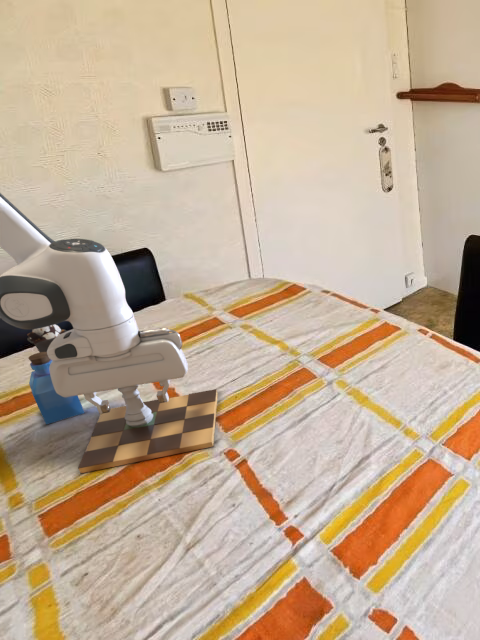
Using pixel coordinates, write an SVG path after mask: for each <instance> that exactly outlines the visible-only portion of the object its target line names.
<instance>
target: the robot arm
mask: <svg viewBox="0 0 480 640" xmlns="http://www.w3.org/2000/svg"><path fill="white" fill-rule="evenodd" d="M0 248H1V249H2V250H3V251H4V252H6V254H8V255H9V256H10V257H11V258H12V259H13V260H14V261H15V263H16V264H17V265H13V267H11V268H9V269H7V270H5V271H4V272H3V273H1V274H0V320H2V321H4V322H5V323H7V324H8V325H10V326H12V327H14V328H17V329H21V330H32V329H38V328H43V327H47V326H51V325H54V324H55V325H58V324H60V323H63V322H68V323H70V324H71V327H72V329H69V330H66V332H65V333H62V334H60V335H58V336H57V337H56V338H55V339H54V340H53V341H52V342H51V344H50V345H49V347H48V350H47V355H48V357H49V358H50V359H51V360H53V361H52V362H51V364H50V367H49V370H50V376H51V380H52V383H53V386H54V389H55V391H56V393H57V394H59V395H60V396H62V397H71V396H77V395H78V396H84V399H85V401H87V402H88V403H90V404H92V405H93V406H94V407H96V409H97V411H98V414H99V415H100V414H103V413H108V412H110V410H111V405H110V402H109V400H108V399H105V400H102V399H101V398H100V397H99V396H97V393H99V392H106V391H111V390H118V388H124V387H130V386H136V385H138V386H142V385H147V384H154V383H159V386H160V387H162V390H158V391H156V396H155V397H156V400H158V402H159V403H164V402H168V401H169V398H170V396H169V394H168V389H169V387H170V383H171V380H177V379H183V378H185V376H186V375H187V374H188V371H189V363H188V360H187V357H186V355H185V353H184V351H183V349H182V348H183V340H182V337H181V335H180V333H179V332H178V331H176V330H174V329H169V327H160V328H156V329H147V330H140V329H139V326H138V323H137V320H136V317H135V315H134V312H133V310H132V308H131V307H130V305H129V304H128V302H127V299H126V288H125V285H124V282H123V280H122V276H121V275H120V271H119V269H118V267H117V265H116V263H115V261H114V259H113V257H112V255H111V253H110V252H109V250H108V249H107V248H106V247H105V246H104V245H103V244H102V243H100V242H97V241H94V240H92V239H86V238H68V239H67V238H66V239H59V240H53V239H52V238H51V237H50V236H48V235H47V234H46V233H45V232H44V231H43V230H41V228H39V226H37V225H36V224H35V223H34V222H33V221H32V220H31V219H30V218H29V217H27V216H26V215H25V214H24V213H23V212H22V211H20V209H19V208H17V206H16V205H14V204H13V203H12V202H11V201H10V200H9V199H8V198H7V197H5V196H4V194H2V193H1V192H0Z"/></svg>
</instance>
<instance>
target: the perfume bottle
mask: <svg viewBox="0 0 480 640" xmlns="http://www.w3.org/2000/svg"><path fill="white" fill-rule="evenodd" d="M27 358H28V360H29V362H30V363H29V366H30V368H31V370H32V371H31V373H30V377H29V382H28V384H29V387H30V390H31V394H32V396H33V399H34V401H35V404H36V405H37V408H38V410H39V412H40V414H41V416H42V418H43V421H44V423H45V425H46V426H47V425H50V424H53V423H56V422H59V421H63V420H66V419H69V418H72V417H76V416H80V415H82V414H83V415H84V414H85V410H84V408H83V405H82V403H81V400H80V397H79V395H77V396H71V397H62V396H60V395H59V394H57V393H56V391H55V389H54V386H53V383H52V380H51V376H50V370H49V367H50V364H51V362H52V361H53V360H51V359H50V358H49V357H48V355H47V352H36V353H33V354H31V355H29V356H28V357H27Z"/></svg>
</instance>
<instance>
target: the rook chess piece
mask: <svg viewBox="0 0 480 640" xmlns="http://www.w3.org/2000/svg"><path fill="white" fill-rule="evenodd" d="M138 388H139V385H136V386H130V387H124V388H118V389H117V391H118V392H120V393H121V394H122V395H121V398H122V399H123V400H124V403H125V406H126V414H125V419H126V423H127V424H128V425H129V426H133V427H138V426H142V425H145V424H147V423H149V422H150V421H151V420H152V418H153V414H152V413H151V410H150V409H149V408H148V407H147V406H146V405H145V404H144V403H143V402H144V401H143V399H142V398H141V396H140V394H141V392H140V391H139V390H138Z"/></svg>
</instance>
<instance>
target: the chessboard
mask: <svg viewBox="0 0 480 640" xmlns="http://www.w3.org/2000/svg"><path fill="white" fill-rule="evenodd" d="M218 396H219V393H218V390H217V388H215V389H209V390H204V391H198V392H192V393H188V394H184V395H178V396H174V397H169V401H168V402H164V403H159V402H158V399H154V400H153V399H152V400H147V401H143V403H144V404H145V405H146V406H147V407H148V408H149V409H150V410H151V413H152V414H153V418H152V420H151V421H150V422H149V423H147V424H145V425H142V426H138V427H133V426H129V425H128V424H127V423H126V419H125V414H126V405H123V406H118V407H112V408H111V407H110V408H111V410H110V412H108V413H103V414H100V413H99V417H98V419H97V421H96V423H95V425H94V428H93V431H92V433H91V435H90V439H89V442H88V444H87V447H86V449H85V451H84V452H83V455H82V458H81V460H80V461H79V462H80V463H79V465H78V467H77V469H78V471H79V473H80V474H84V473H90V472H94V471H99V470H105V469H109V468H114V467H118V466H124V465H130V464H133V463H138V462H144V461H148V460H153V459H158V458H163V457H168V456H169V457H170V456H174V455H178V454H184V453H188V452H193V451H198V450H202V449H207V448H212V447H214V443H215V431H216V420H217V419H216V418H217V407H218Z"/></svg>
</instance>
